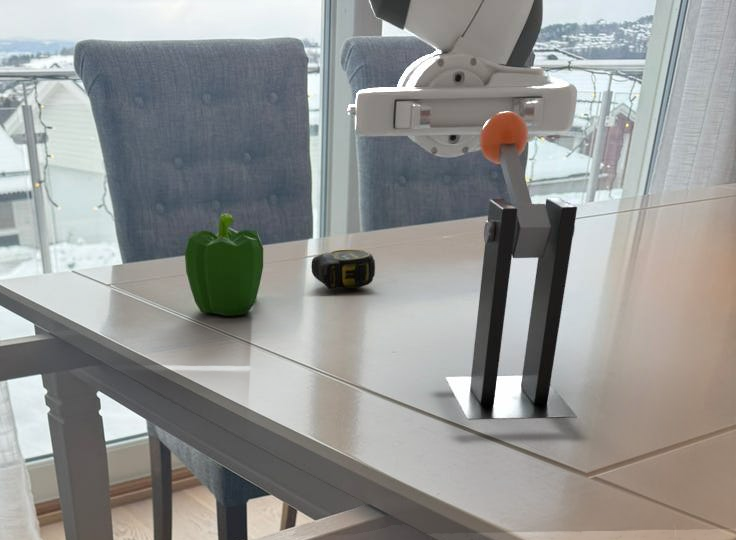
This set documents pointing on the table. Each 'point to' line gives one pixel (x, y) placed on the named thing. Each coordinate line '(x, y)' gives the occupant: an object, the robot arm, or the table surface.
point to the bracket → (532, 389)
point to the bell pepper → (224, 269)
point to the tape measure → (344, 268)
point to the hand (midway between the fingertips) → (476, 116)
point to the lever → (516, 182)
